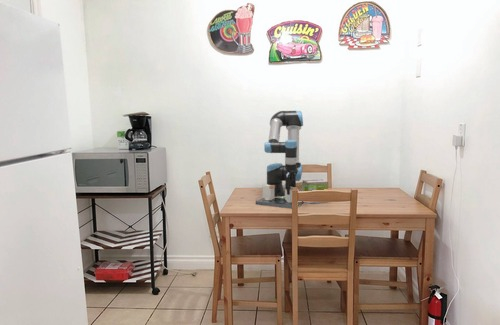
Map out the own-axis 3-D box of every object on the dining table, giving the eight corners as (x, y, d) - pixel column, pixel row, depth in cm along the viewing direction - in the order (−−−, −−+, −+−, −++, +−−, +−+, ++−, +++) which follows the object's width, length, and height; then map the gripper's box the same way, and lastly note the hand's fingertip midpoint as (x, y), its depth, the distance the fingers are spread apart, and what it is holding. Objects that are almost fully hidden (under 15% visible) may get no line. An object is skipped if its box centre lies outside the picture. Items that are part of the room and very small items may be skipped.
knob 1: (261, 199, 241) (261, 184, 240) (267, 198, 244) (267, 183, 243) (270, 201, 235) (270, 186, 233) (275, 200, 238) (275, 185, 236)
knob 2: (284, 201, 235) (284, 186, 233) (289, 200, 237) (290, 185, 236) (291, 203, 228) (292, 188, 226) (297, 202, 230) (298, 187, 229)
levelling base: (265, 199, 250) (265, 193, 249) (302, 203, 237) (303, 197, 237) (255, 204, 235) (255, 198, 235) (295, 208, 223) (295, 202, 223)
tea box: (308, 204, 235) (308, 182, 233) (301, 200, 245) (302, 179, 243) (328, 202, 239) (328, 181, 237) (321, 199, 249) (321, 178, 247)
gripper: (291, 165, 219) (290, 201, 222) (301, 162, 236) (300, 195, 239) (280, 165, 223) (279, 200, 226) (290, 161, 239) (290, 194, 242)
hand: (290, 198), depth 232 cm, fingers closed on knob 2, 6 cm apart
